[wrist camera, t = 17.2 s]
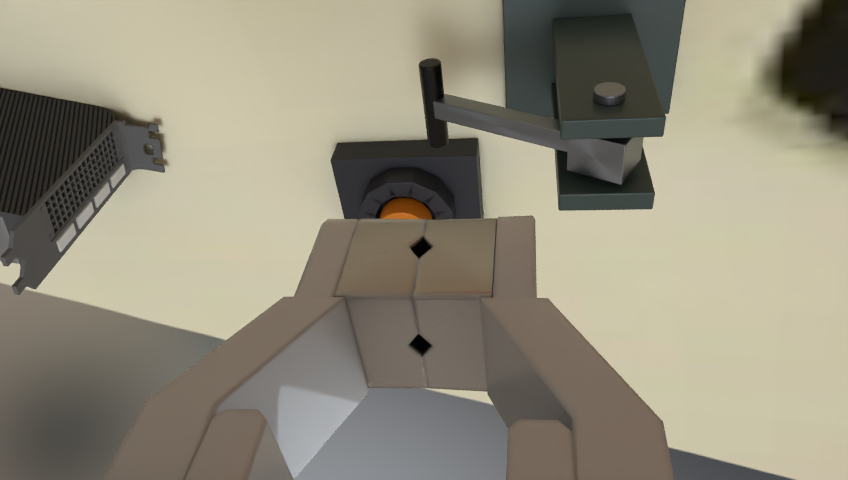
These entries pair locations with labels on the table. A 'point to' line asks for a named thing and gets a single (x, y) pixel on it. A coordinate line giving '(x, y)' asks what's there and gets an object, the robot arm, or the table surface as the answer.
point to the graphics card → (59, 175)
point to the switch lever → (523, 129)
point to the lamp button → (405, 209)
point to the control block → (409, 177)
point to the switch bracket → (594, 81)
